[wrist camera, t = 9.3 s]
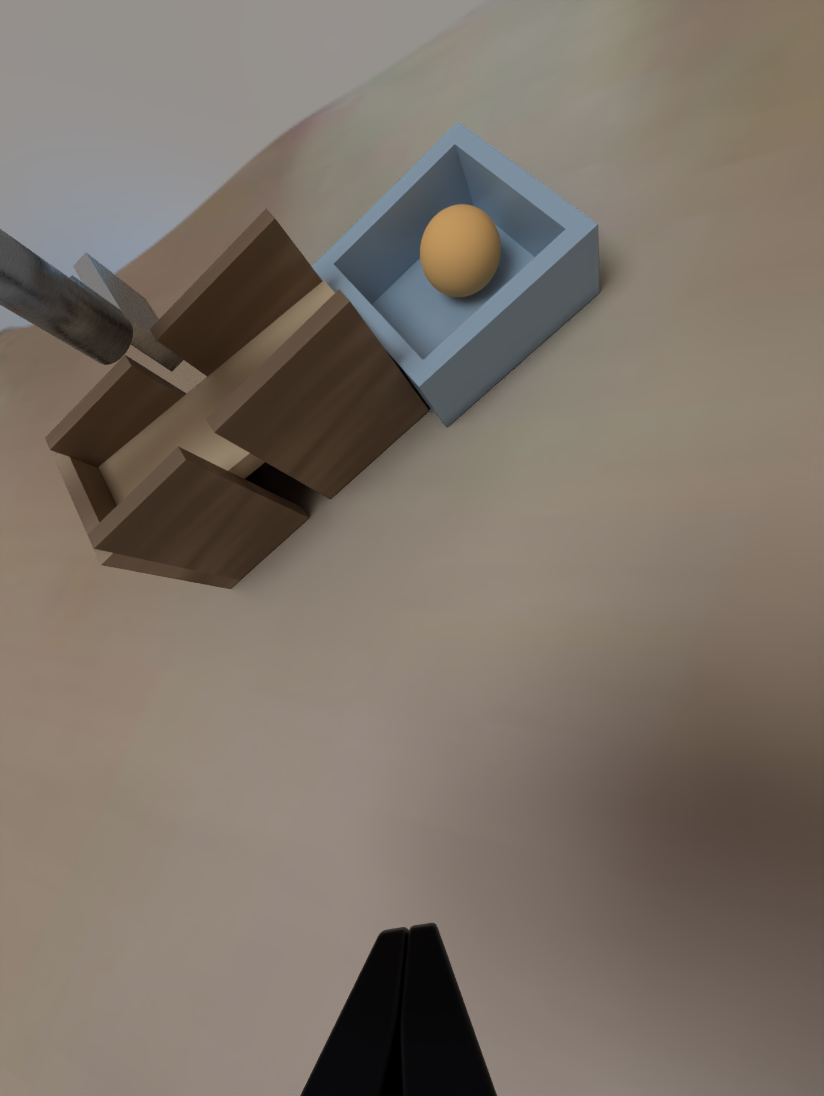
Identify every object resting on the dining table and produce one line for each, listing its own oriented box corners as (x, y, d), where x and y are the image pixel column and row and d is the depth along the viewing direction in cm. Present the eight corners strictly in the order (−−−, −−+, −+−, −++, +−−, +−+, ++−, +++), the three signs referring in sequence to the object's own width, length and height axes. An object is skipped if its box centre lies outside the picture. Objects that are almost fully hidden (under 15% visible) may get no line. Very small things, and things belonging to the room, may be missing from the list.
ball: (481, 286, 21) (506, 303, 24) (490, 185, 20) (514, 216, 23) (403, 289, 22) (436, 305, 25) (408, 195, 21) (441, 223, 24)
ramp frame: (430, 409, 24) (351, 299, 17) (229, 589, 26) (81, 561, 19) (362, 333, 26) (267, 207, 19) (183, 504, 28) (33, 449, 21)
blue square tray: (599, 292, 22) (598, 224, 19) (447, 427, 24) (418, 386, 20) (478, 194, 25) (458, 121, 22) (350, 318, 27) (311, 267, 23)
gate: (220, 393, 21) (-44, 210, 13) (190, 422, 21) (-90, 264, 13) (152, 291, 24) (-103, 85, 15) (127, 318, 24) (-138, 131, 16)
